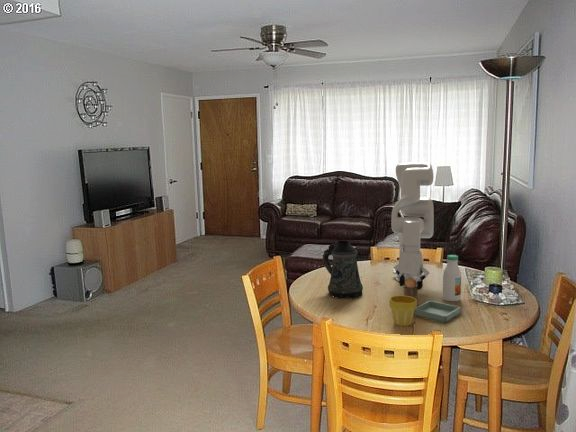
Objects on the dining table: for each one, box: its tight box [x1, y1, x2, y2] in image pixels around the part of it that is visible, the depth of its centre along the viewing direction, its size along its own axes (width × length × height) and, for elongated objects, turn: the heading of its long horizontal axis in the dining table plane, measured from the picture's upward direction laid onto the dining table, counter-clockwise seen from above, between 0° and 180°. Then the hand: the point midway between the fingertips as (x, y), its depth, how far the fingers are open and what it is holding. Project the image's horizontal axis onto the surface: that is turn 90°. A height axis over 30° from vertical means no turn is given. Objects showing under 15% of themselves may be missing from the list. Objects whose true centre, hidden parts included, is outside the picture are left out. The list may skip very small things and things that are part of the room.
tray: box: [413, 300, 462, 324], centre depth 197 cm, size 14×14×3 cm
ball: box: [404, 277, 417, 289], centre depth 212 cm, size 5×5×5 cm
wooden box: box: [403, 285, 418, 301], centre depth 213 cm, size 4×4×7 cm
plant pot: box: [388, 294, 418, 327], centre depth 188 cm, size 10×10×10 cm
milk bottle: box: [442, 254, 462, 302], centre depth 214 cm, size 8×8×20 cm
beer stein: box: [322, 240, 364, 299], centre depth 226 cm, size 16×19×25 cm
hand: (410, 287), depth 212 cm, fingers open, 7 cm apart
